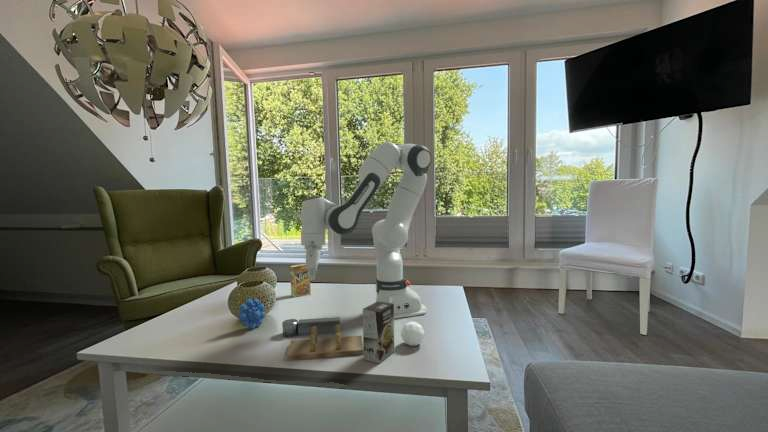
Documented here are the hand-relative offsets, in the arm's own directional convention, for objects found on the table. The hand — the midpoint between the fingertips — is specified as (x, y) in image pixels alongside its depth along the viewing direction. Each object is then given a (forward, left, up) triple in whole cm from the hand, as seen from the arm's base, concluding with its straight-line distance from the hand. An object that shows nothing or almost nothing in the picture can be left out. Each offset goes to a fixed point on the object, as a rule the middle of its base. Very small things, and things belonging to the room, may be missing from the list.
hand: (313, 276), depth 132 cm
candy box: (+10, -46, -21) cm, 51 cm away
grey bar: (+1, +2, -20) cm, 21 cm away
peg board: (-5, +17, -20) cm, 27 cm away
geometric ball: (-34, +18, -21) cm, 44 cm away
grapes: (+23, -5, -21) cm, 31 cm away
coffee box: (-22, +24, -21) cm, 39 cm away
